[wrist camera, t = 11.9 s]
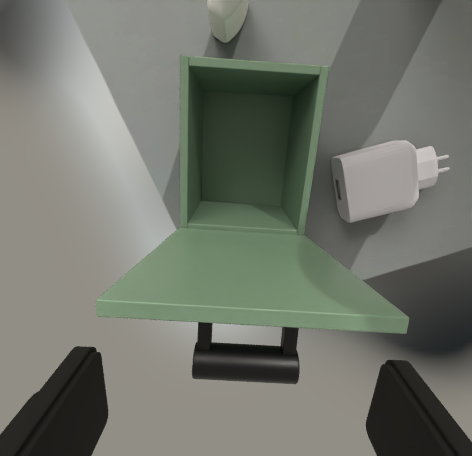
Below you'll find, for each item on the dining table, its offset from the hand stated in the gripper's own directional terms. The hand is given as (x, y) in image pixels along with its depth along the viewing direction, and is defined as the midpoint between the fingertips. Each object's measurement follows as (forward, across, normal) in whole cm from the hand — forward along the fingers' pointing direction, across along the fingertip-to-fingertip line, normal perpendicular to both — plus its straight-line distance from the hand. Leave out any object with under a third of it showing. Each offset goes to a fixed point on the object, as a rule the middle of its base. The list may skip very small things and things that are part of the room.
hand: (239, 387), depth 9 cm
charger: (+34, -22, -4) cm, 40 cm away
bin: (+34, -1, -7) cm, 34 cm away
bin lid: (+12, -1, 0) cm, 12 cm away
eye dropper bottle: (+34, +2, -23) cm, 41 cm away
